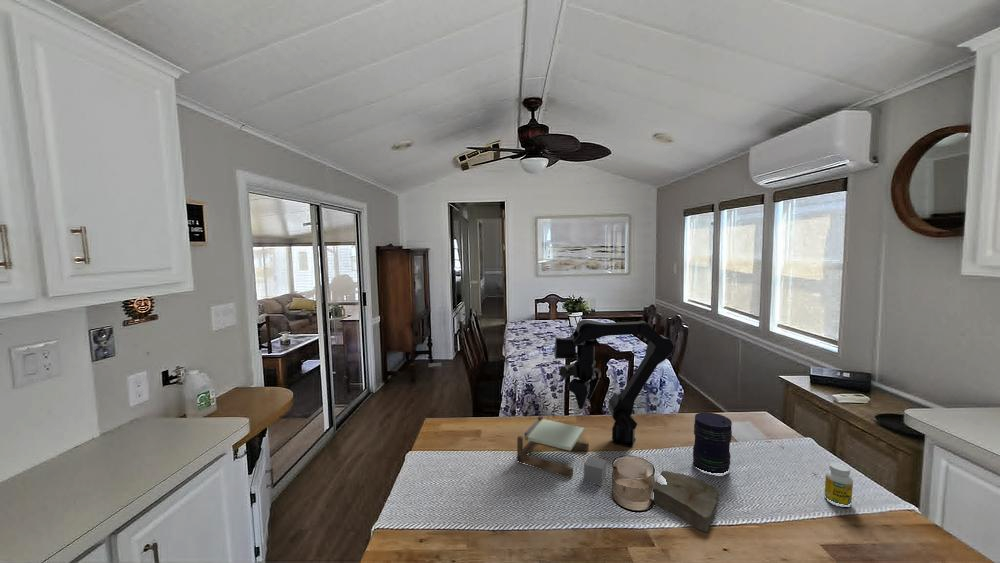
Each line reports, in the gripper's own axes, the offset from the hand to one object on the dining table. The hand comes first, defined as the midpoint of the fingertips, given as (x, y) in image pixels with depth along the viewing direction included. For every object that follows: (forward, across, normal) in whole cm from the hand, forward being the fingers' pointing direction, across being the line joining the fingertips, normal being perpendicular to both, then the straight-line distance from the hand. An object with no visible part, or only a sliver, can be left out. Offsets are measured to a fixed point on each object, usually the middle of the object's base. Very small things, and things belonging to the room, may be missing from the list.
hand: (584, 403), depth 135 cm
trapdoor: (+6, +14, -6) cm, 16 cm away
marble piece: (+14, +20, +32) cm, 40 cm away
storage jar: (+13, -2, +38) cm, 40 cm away
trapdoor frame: (+13, +14, -6) cm, 20 cm away
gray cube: (+13, +20, +9) cm, 25 cm away
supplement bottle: (+13, +1, +67) cm, 68 cm away
